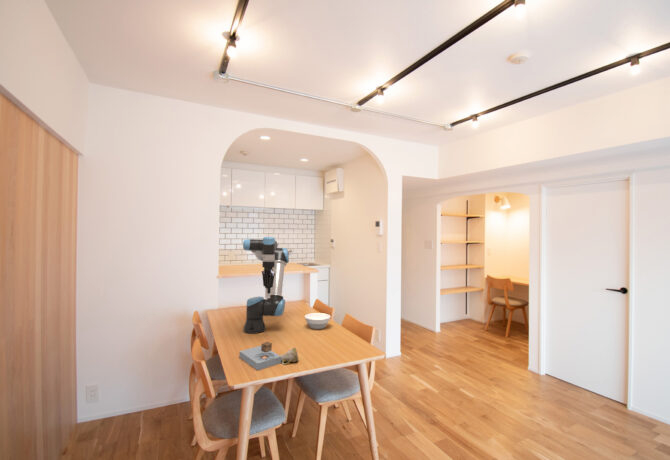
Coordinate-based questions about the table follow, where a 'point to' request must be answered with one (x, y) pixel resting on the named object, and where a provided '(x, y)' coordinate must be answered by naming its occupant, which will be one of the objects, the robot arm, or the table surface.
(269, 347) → the walnut cube
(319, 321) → the bowl
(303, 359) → the table surface
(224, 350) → the table surface
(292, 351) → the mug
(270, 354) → the grey flat block
